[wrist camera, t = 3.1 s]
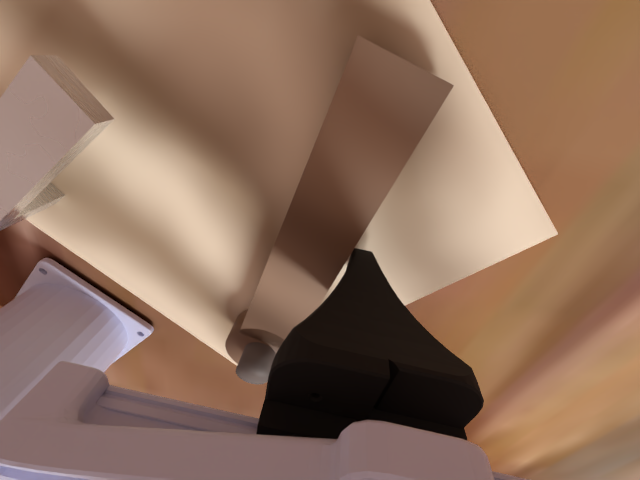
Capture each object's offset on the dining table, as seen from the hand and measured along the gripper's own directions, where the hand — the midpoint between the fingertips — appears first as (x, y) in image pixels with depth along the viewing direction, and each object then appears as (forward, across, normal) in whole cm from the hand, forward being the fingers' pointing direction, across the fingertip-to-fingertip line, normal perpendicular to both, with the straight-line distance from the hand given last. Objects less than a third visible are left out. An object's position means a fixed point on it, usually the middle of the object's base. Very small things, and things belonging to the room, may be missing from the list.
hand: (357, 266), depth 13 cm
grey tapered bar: (+1, +3, 0) cm, 3 cm away
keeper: (+1, +13, -3) cm, 13 cm away
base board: (+2, +6, -2) cm, 7 cm away
